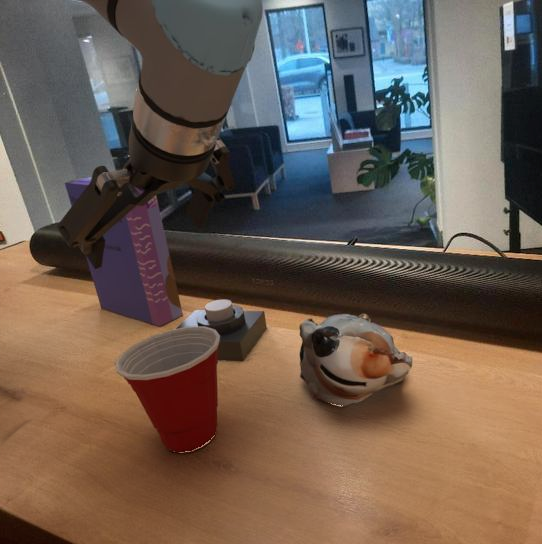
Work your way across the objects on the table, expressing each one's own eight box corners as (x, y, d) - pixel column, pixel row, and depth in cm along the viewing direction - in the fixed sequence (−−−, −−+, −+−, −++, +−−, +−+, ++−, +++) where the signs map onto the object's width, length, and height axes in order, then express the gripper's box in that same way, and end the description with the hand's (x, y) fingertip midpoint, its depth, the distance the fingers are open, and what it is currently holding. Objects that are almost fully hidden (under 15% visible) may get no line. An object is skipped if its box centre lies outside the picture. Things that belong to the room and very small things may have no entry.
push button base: (167, 358, 74) (160, 329, 72) (199, 326, 83) (193, 299, 81) (243, 361, 72) (237, 331, 70) (267, 328, 81) (262, 300, 79)
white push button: (202, 322, 74) (200, 310, 73) (214, 310, 78) (211, 299, 77) (227, 323, 73) (225, 310, 73) (238, 311, 77) (236, 299, 76)
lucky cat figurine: (419, 362, 68) (435, 302, 58) (387, 440, 61) (399, 388, 50) (321, 323, 71) (319, 260, 61) (280, 393, 64) (270, 335, 54)
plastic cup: (189, 399, 64) (169, 316, 59) (256, 418, 59) (240, 330, 55) (118, 454, 55) (89, 362, 51) (190, 483, 50) (165, 383, 46)
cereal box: (183, 315, 87) (152, 180, 79) (160, 327, 84) (125, 187, 75) (124, 298, 96) (91, 175, 87) (101, 308, 93) (64, 181, 84)
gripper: (56, 201, 38) (58, 306, 54) (300, 128, 53) (244, 227, 70) (5, 124, 38) (22, 251, 55) (260, 75, 54) (214, 185, 70)
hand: (146, 238), depth 62 cm, fingers open, 13 cm apart
